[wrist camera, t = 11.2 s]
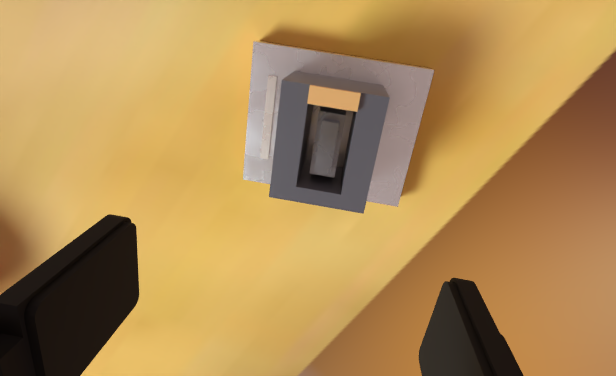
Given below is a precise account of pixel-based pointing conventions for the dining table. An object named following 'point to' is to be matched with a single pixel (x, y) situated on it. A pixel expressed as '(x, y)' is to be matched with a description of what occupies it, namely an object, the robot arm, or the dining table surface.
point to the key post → (335, 114)
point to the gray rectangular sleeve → (295, 134)
